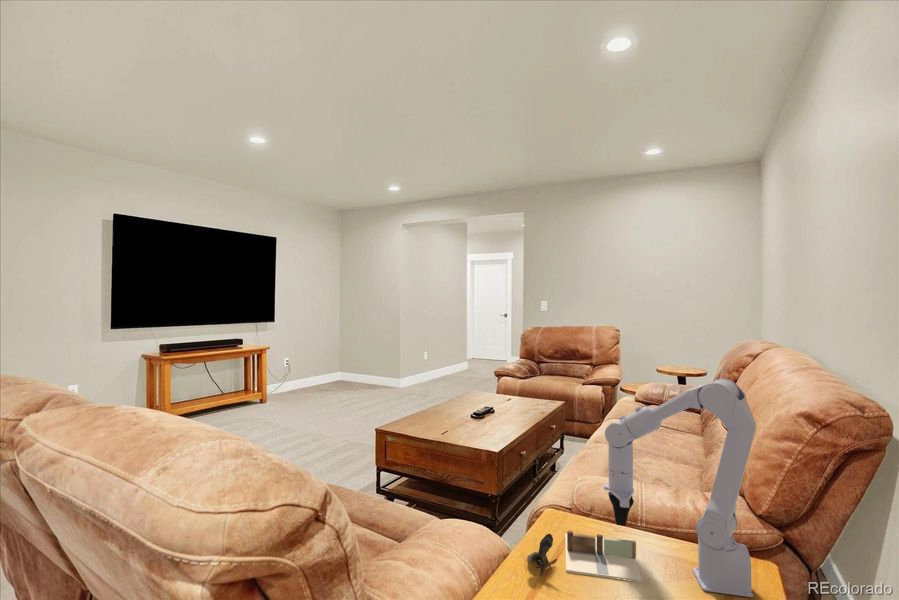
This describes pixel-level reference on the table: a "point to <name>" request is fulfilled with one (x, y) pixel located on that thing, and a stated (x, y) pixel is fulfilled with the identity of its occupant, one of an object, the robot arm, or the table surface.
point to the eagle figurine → (542, 554)
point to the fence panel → (620, 547)
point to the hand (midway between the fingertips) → (620, 524)
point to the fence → (584, 543)
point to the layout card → (602, 565)
